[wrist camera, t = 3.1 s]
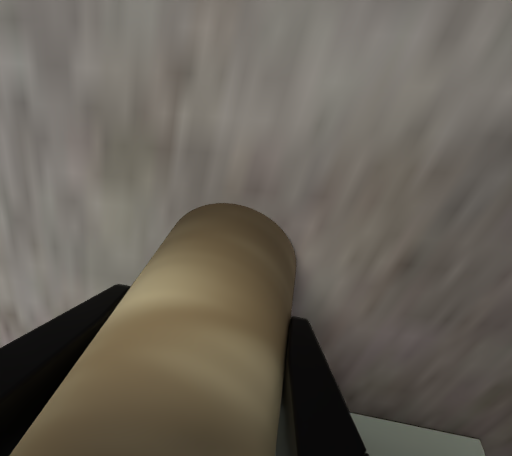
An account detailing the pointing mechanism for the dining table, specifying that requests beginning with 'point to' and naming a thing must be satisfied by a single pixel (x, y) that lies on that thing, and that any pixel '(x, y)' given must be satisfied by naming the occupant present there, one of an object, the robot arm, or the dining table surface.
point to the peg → (184, 350)
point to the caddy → (411, 440)
